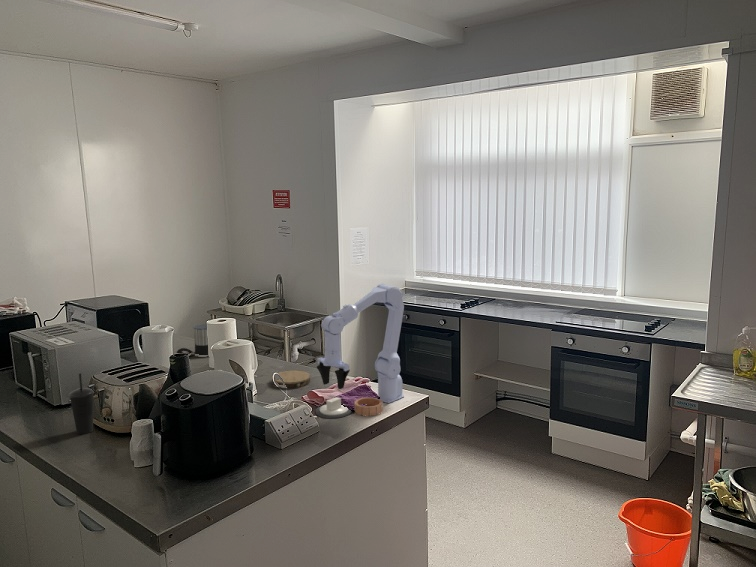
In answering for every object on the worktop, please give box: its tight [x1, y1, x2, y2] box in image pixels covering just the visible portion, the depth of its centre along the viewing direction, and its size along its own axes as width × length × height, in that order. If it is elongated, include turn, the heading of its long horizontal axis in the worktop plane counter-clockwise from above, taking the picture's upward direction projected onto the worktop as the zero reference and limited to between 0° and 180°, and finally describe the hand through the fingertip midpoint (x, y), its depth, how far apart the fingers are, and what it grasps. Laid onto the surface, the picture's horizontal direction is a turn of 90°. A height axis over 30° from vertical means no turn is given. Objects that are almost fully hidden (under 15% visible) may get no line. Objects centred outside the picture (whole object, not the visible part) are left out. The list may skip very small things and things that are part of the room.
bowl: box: [353, 396, 384, 417], centre depth 210 cm, size 10×10×3 cm
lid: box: [319, 396, 348, 416], centre depth 210 cm, size 10×10×4 cm
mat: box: [315, 405, 352, 419], centre depth 210 cm, size 13×13×1 cm
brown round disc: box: [271, 369, 311, 390], centre depth 242 cm, size 16×16×3 cm
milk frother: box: [176, 323, 208, 355], centre depth 281 cm, size 14×16×15 cm
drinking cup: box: [68, 373, 95, 435], centre depth 192 cm, size 8×8×20 cm
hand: (333, 386), depth 209 cm, fingers open, 7 cm apart
